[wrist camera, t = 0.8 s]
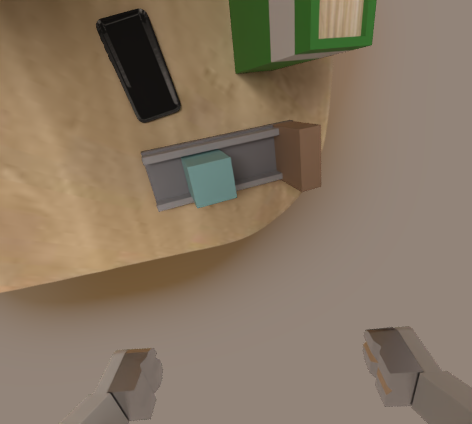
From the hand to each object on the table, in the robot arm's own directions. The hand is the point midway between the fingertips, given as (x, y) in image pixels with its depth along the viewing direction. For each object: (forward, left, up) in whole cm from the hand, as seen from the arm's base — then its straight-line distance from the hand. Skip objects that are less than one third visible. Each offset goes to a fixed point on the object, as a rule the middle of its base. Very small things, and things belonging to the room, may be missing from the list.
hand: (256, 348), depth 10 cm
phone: (-14, -1, -44) cm, 46 cm away
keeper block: (+4, +5, -41) cm, 42 cm away
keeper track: (+4, +10, -43) cm, 45 cm away
